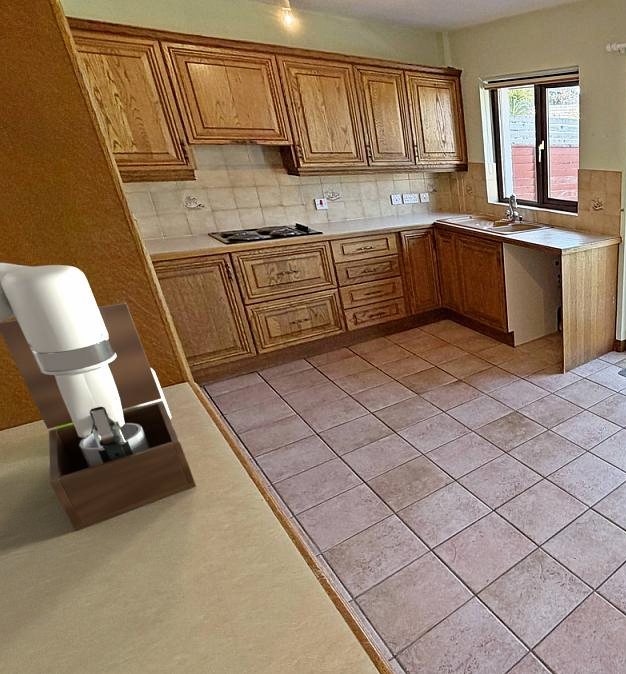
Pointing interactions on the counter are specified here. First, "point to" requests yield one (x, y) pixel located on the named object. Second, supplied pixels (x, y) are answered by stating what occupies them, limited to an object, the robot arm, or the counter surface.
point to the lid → (125, 368)
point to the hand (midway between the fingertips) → (119, 455)
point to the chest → (118, 470)
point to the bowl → (129, 431)
